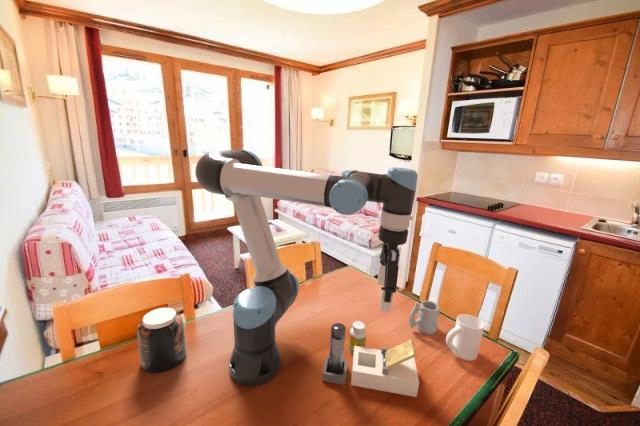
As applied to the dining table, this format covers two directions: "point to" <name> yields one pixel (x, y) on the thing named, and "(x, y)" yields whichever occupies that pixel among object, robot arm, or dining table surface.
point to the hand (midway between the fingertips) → (382, 296)
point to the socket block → (383, 373)
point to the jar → (161, 340)
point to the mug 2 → (465, 337)
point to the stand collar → (332, 376)
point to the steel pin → (336, 348)
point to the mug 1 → (425, 317)
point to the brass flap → (399, 354)
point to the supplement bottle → (357, 336)
